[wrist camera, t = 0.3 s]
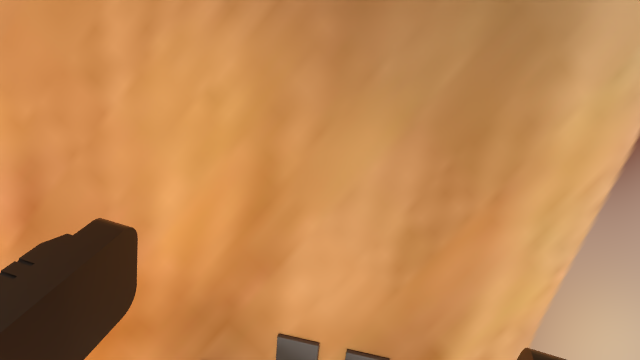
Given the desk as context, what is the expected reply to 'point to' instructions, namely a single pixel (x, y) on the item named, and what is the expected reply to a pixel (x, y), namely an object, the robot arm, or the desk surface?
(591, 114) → the desk surface
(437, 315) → the desk surface
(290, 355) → the trap lane
